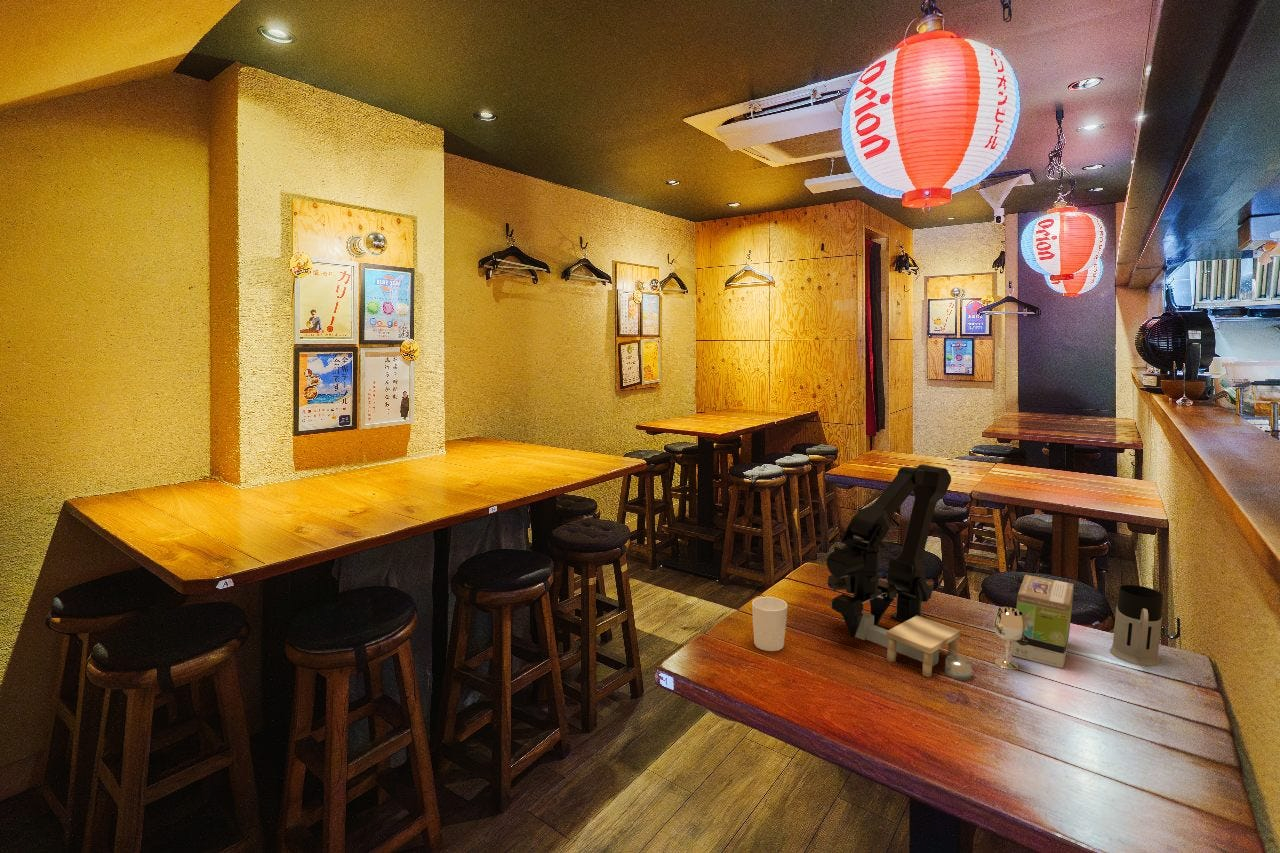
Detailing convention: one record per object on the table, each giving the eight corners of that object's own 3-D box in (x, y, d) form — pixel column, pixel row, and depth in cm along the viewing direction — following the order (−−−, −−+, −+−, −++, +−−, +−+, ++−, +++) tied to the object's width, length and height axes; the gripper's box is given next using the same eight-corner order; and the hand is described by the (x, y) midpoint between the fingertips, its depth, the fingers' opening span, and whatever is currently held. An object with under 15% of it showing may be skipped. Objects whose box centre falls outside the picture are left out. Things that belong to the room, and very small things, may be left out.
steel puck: (952, 665, 135) (953, 652, 134) (975, 675, 131) (976, 662, 130) (940, 673, 132) (940, 659, 132) (963, 683, 128) (964, 669, 127)
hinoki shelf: (915, 641, 145) (916, 615, 145) (959, 658, 138) (960, 630, 137) (884, 659, 137) (886, 631, 137) (929, 678, 130) (930, 648, 129)
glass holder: (1156, 652, 139) (1163, 588, 137) (1167, 682, 127) (1175, 612, 125) (1107, 643, 144) (1113, 580, 142) (1114, 670, 132) (1120, 603, 130)
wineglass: (991, 667, 134) (995, 613, 132) (990, 655, 139) (994, 603, 137) (1022, 673, 131) (1027, 619, 130) (1021, 661, 136) (1025, 608, 135)
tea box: (1065, 670, 132) (1070, 603, 130) (1010, 656, 138) (1015, 592, 136) (1069, 643, 144) (1074, 581, 142) (1018, 631, 150) (1023, 572, 148)
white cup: (783, 637, 148) (784, 597, 147) (788, 653, 140) (789, 611, 139) (750, 636, 149) (750, 596, 148) (753, 652, 141) (753, 610, 140)
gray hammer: (858, 629, 152) (859, 609, 151) (940, 661, 136) (941, 639, 136) (849, 634, 150) (849, 614, 149) (930, 667, 134) (932, 645, 133)
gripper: (858, 551, 159) (856, 609, 161) (812, 567, 147) (810, 630, 149) (899, 563, 150) (896, 624, 152) (854, 581, 139) (851, 648, 141)
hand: (863, 631), depth 149 cm, fingers open, 9 cm apart
